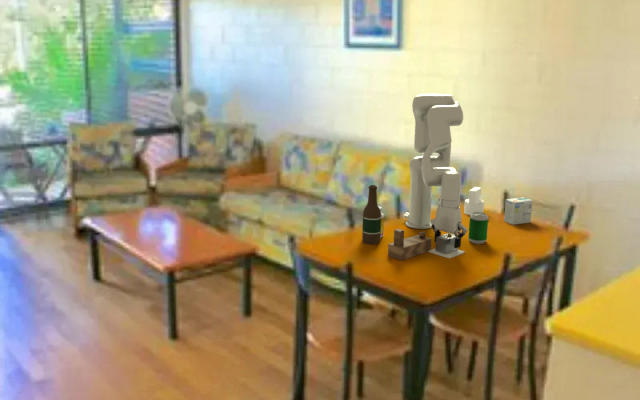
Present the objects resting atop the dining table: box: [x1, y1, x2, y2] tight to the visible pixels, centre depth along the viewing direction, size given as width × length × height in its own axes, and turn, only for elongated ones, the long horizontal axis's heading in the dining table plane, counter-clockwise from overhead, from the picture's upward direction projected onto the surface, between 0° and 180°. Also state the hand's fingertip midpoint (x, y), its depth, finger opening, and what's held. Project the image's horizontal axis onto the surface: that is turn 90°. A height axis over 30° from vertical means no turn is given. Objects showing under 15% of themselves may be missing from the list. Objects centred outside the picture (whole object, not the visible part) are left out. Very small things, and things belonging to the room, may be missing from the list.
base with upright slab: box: [463, 186, 485, 216], centre depth 323 cm, size 9×9×12 cm
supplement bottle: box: [378, 205, 385, 239], centre depth 286 cm, size 7×7×13 cm
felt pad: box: [428, 248, 466, 259], centre depth 268 cm, size 10×10×1 cm
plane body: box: [387, 228, 433, 261], centre depth 265 cm, size 18×7×11 cm, turn 133°
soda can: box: [468, 212, 489, 245], centre depth 280 cm, size 8×8×12 cm
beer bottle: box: [361, 184, 382, 245], centre depth 277 cm, size 8×8×24 cm
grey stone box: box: [434, 232, 459, 255], centre depth 267 cm, size 8×5×7 cm, turn 132°
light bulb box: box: [503, 196, 533, 225], centre depth 309 cm, size 11×7×11 cm, turn 114°
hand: (447, 244), depth 267 cm, fingers open, 9 cm apart
